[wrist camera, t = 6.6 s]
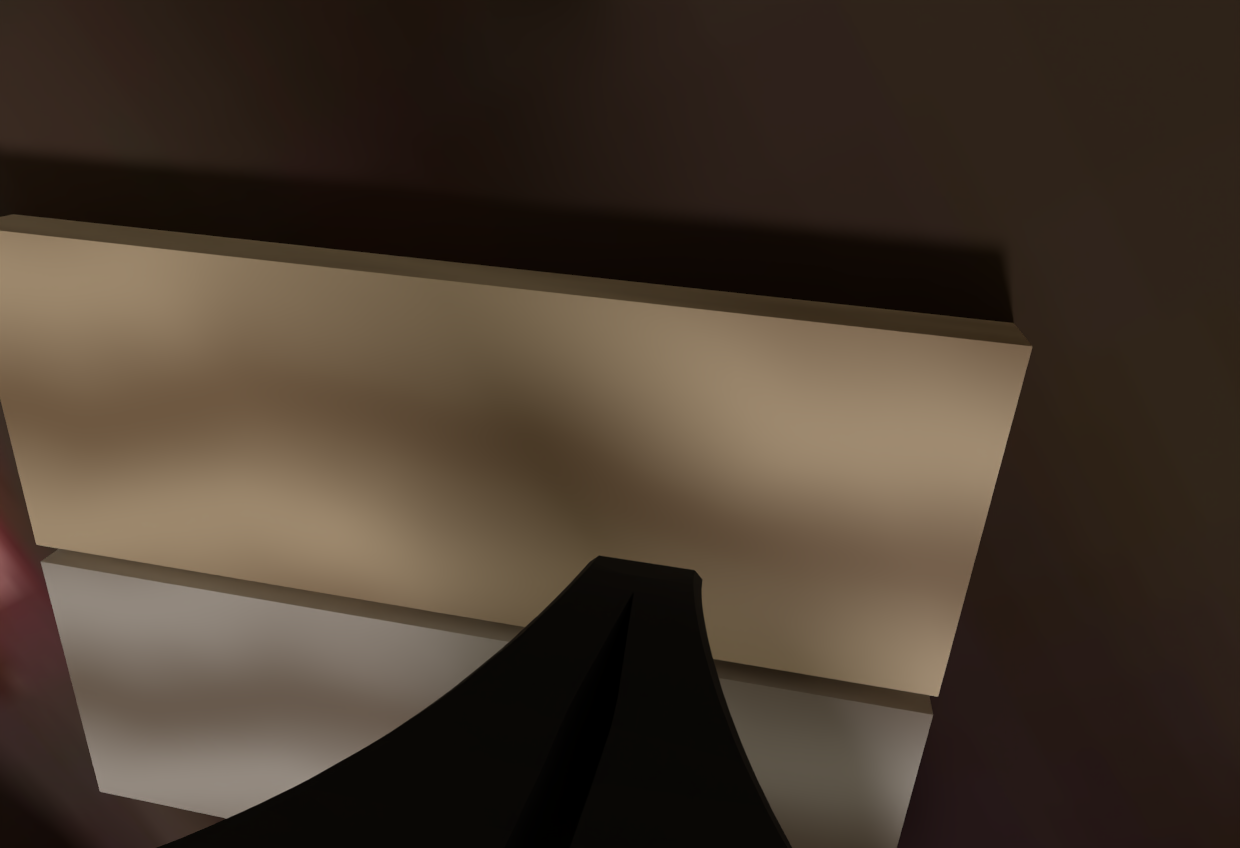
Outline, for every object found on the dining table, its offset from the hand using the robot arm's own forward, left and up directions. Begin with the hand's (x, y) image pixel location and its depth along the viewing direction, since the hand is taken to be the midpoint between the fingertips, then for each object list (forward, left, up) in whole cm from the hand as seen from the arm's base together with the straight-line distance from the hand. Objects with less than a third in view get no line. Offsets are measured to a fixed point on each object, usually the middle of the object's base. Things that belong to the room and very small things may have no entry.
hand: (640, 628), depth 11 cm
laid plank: (-10, +5, -8) cm, 14 cm away
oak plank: (-2, +5, -8) cm, 10 cm away
